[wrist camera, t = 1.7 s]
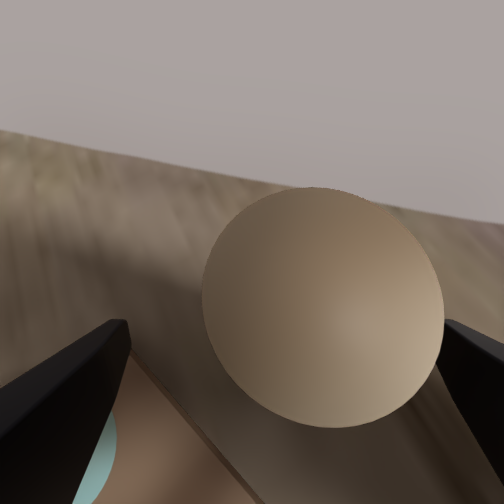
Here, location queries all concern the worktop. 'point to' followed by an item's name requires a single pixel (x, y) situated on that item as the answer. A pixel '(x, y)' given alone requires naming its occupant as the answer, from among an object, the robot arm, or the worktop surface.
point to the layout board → (157, 452)
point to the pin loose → (322, 307)
